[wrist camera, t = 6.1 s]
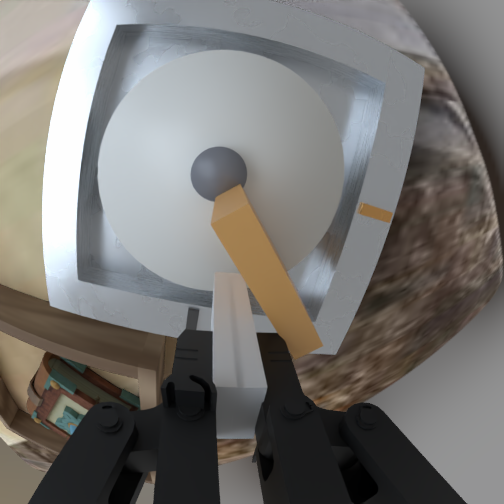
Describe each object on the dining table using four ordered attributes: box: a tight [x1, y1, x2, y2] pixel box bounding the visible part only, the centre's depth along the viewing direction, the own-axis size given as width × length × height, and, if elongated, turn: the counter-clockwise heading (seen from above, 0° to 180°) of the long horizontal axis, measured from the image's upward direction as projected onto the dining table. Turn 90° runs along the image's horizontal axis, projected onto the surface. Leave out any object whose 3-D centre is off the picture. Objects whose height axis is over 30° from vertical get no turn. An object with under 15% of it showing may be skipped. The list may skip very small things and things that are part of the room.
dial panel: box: [42, 0, 425, 355], centre depth 13 cm, size 20×20×3 cm
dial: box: [98, 50, 344, 359], centre depth 10 cm, size 13×12×7 cm
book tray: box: [0, 285, 166, 484], centre depth 19 cm, size 24×24×4 cm
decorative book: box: [27, 351, 141, 440], centre depth 20 cm, size 13×18×5 cm
